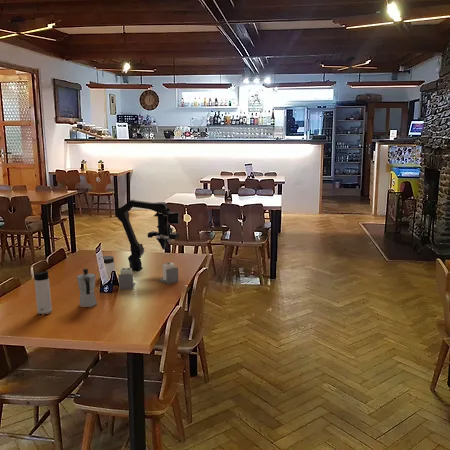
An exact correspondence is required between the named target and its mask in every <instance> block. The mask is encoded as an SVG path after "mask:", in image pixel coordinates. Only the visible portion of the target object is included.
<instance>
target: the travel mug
mask: <svg viewBox="0 0 450 450" xmlns="http://www.w3.org/2000/svg"><path fill="white" fill-rule="evenodd" d="M33 278H34V279H33V280H34V282H33V283H34V292H35V302H36V310H37V312H36V313H37V315H38V314H47V313H50V312H51V311H53V309H52V300H51V299H52V298H51V289H50V287H51V286H50V279H49V271H47V270H44V271H39V272H36V273H33ZM51 313H52V312H51ZM51 313H50V314H51Z"/></svg>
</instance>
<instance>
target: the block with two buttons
mask: <svg viewBox="0 0 450 450" xmlns="http://www.w3.org/2000/svg"><path fill="white" fill-rule="evenodd" d="M119 271H120V275H121V274H133V270H132V268H130V267H126V268H125V267H124V268H123V267H122V268H121V269H120V270H119Z"/></svg>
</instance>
